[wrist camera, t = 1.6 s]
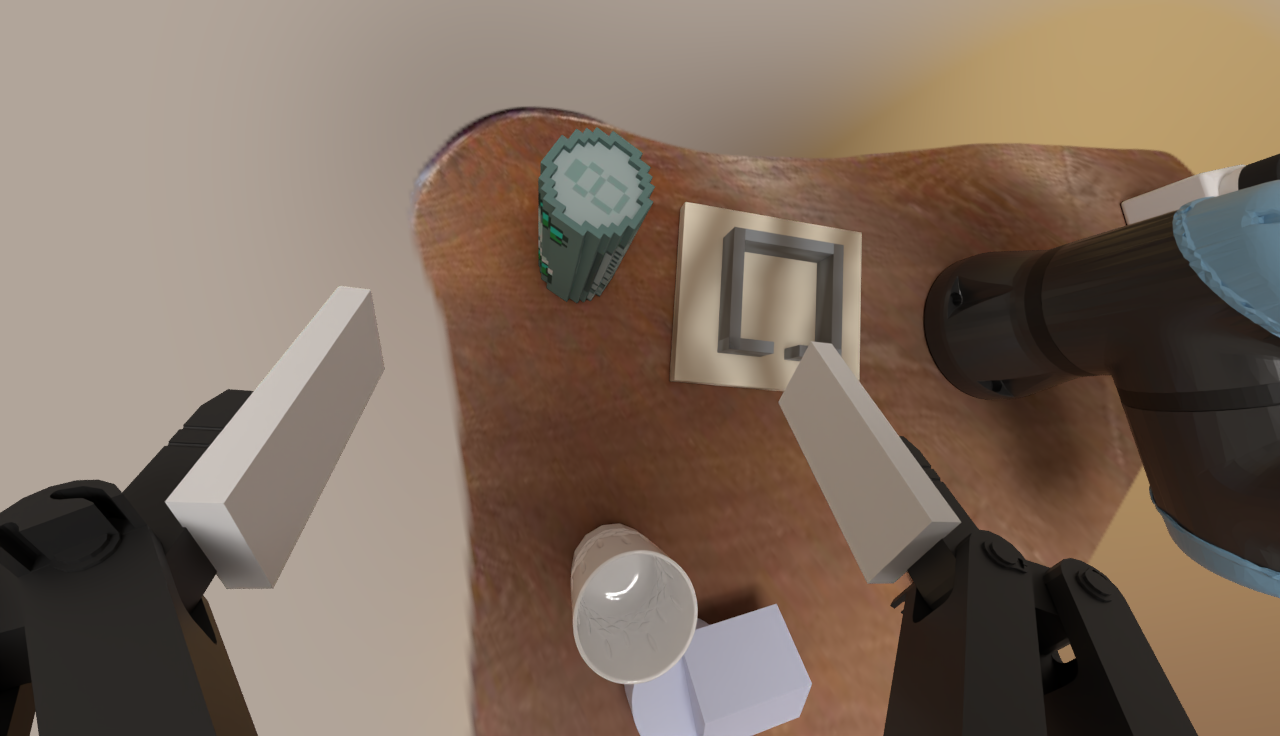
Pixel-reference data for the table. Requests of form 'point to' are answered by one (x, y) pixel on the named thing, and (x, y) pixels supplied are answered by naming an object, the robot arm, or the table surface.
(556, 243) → the can
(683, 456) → the table surface
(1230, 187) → the medicine bottle
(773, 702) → the wedge on round base
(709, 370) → the board with grey rim
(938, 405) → the table surface
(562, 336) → the table surface
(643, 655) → the white cup
